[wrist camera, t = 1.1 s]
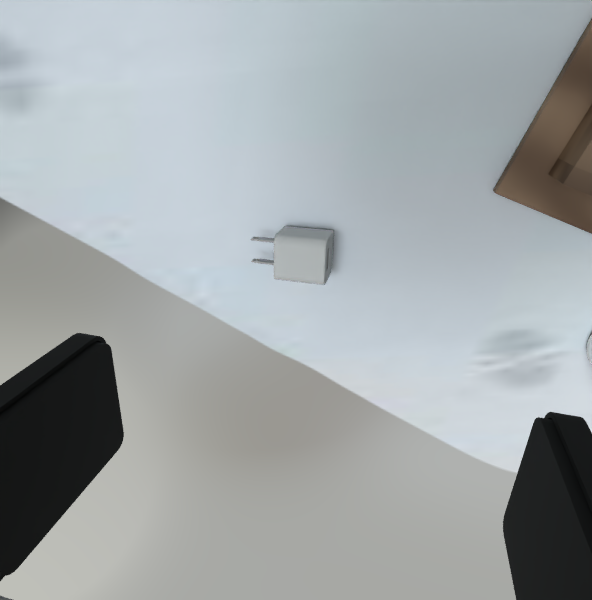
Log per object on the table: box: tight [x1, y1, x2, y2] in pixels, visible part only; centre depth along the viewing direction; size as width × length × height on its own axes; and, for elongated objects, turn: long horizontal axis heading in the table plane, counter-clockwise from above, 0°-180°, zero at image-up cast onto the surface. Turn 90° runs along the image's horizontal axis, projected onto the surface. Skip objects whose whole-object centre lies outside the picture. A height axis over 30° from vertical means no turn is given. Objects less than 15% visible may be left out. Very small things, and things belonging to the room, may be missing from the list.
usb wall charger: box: [251, 226, 334, 285], centre depth 40 cm, size 4×7×4 cm, turn 89°
